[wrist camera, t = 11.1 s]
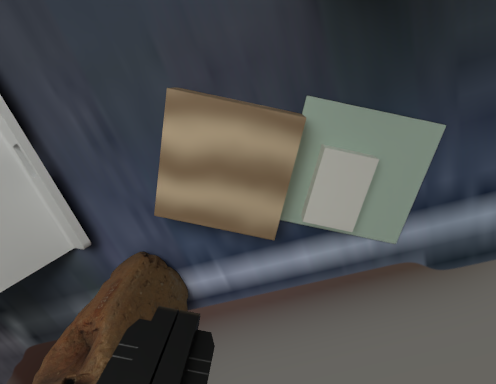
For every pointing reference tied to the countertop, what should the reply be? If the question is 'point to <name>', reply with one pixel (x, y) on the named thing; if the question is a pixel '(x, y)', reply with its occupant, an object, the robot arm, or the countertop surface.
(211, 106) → the board
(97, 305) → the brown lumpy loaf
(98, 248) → the countertop surface
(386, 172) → the mat
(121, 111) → the countertop surface
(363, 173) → the pale grey rectangular block
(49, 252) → the tablet stand
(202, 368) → the robot arm
